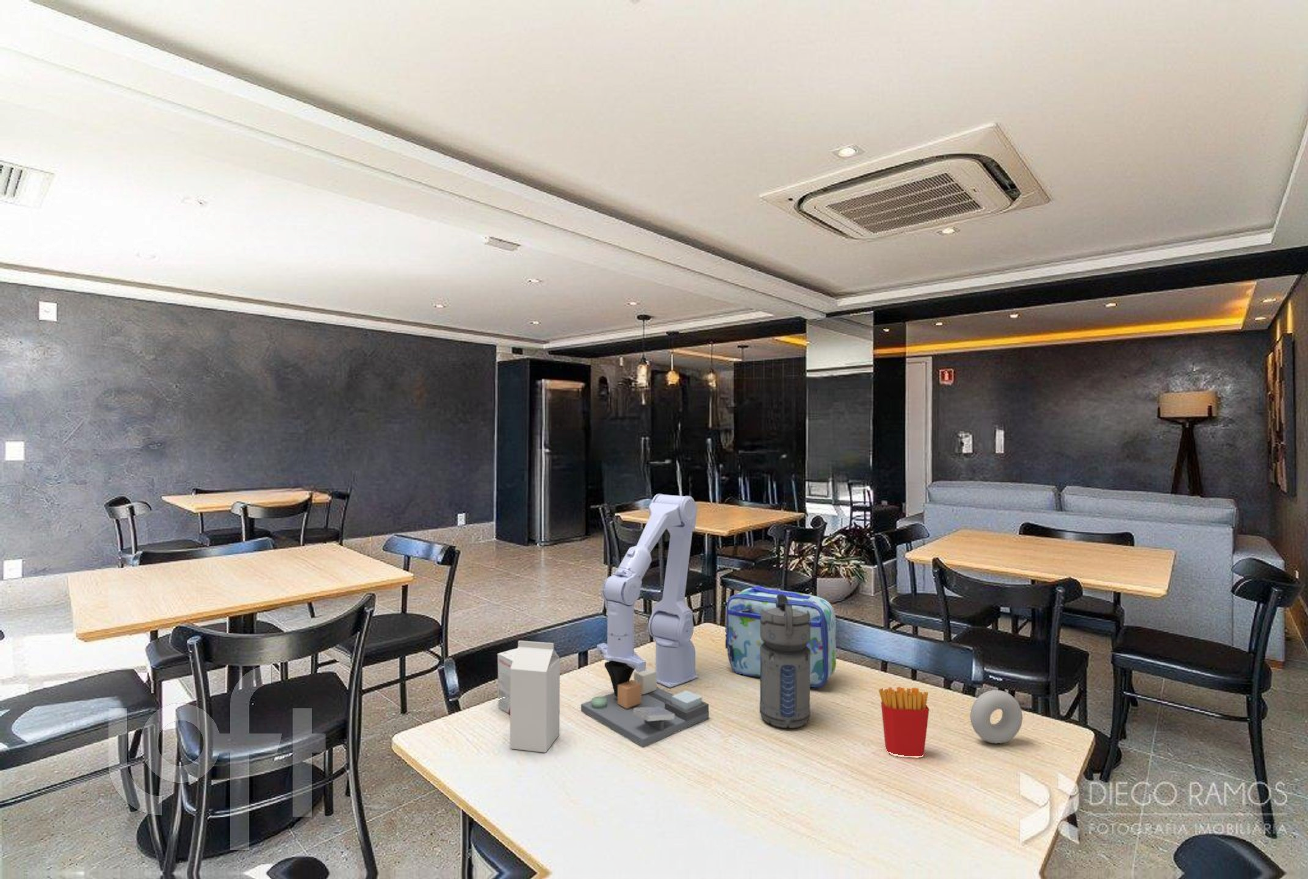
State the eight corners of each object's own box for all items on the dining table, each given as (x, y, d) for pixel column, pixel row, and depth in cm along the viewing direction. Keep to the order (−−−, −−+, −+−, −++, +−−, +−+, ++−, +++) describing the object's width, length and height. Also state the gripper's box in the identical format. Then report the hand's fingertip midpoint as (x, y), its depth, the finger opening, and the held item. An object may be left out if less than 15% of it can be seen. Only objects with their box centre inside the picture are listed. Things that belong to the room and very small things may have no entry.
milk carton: (546, 753, 111) (546, 649, 111) (509, 749, 113) (510, 647, 113) (559, 735, 118) (560, 637, 118) (525, 731, 120) (525, 634, 120)
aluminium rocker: (658, 711, 123) (659, 706, 123) (673, 719, 119) (674, 713, 120) (632, 713, 118) (633, 707, 118) (647, 721, 115) (648, 715, 115)
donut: (977, 748, 114) (977, 695, 114) (965, 739, 117) (966, 687, 117) (1026, 746, 115) (1027, 693, 115) (1014, 737, 119) (1014, 685, 118)
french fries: (923, 748, 114) (924, 684, 114) (930, 759, 110) (931, 693, 110) (876, 745, 115) (877, 682, 115) (881, 756, 111) (882, 690, 111)
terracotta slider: (632, 698, 131) (632, 679, 131) (641, 703, 129) (641, 684, 129) (617, 703, 128) (617, 684, 128) (626, 708, 126) (626, 689, 126)
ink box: (539, 714, 127) (539, 657, 127) (518, 721, 124) (518, 663, 124) (517, 700, 134) (517, 647, 134) (496, 707, 130) (496, 652, 130)
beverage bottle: (803, 704, 132) (803, 589, 132) (814, 734, 119) (815, 606, 119) (756, 702, 133) (756, 588, 133) (762, 732, 120) (763, 605, 120)
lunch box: (720, 672, 150) (720, 587, 150) (738, 659, 159) (738, 579, 159) (825, 696, 136) (826, 603, 136) (838, 680, 146) (839, 593, 146)
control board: (645, 688, 141) (645, 674, 141) (709, 718, 126) (709, 703, 126) (581, 711, 129) (581, 696, 129) (643, 747, 114) (643, 730, 114)
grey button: (686, 697, 129) (686, 690, 129) (701, 704, 125) (701, 697, 125) (671, 703, 126) (671, 696, 126) (686, 711, 122) (686, 703, 122)
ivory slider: (647, 685, 138) (647, 667, 138) (656, 689, 135) (656, 671, 135) (634, 690, 135) (634, 672, 135) (642, 694, 133) (643, 676, 133)
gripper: (585, 627, 133) (585, 689, 133) (627, 644, 123) (627, 712, 123) (611, 621, 138) (611, 681, 138) (653, 637, 127) (653, 702, 127)
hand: (620, 695), depth 131 cm, fingers closed
